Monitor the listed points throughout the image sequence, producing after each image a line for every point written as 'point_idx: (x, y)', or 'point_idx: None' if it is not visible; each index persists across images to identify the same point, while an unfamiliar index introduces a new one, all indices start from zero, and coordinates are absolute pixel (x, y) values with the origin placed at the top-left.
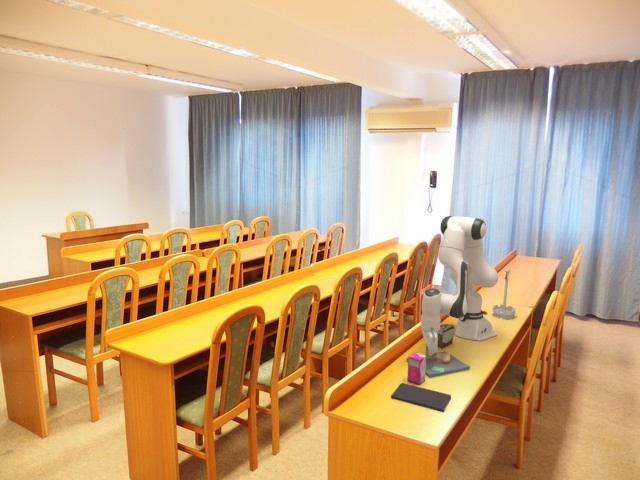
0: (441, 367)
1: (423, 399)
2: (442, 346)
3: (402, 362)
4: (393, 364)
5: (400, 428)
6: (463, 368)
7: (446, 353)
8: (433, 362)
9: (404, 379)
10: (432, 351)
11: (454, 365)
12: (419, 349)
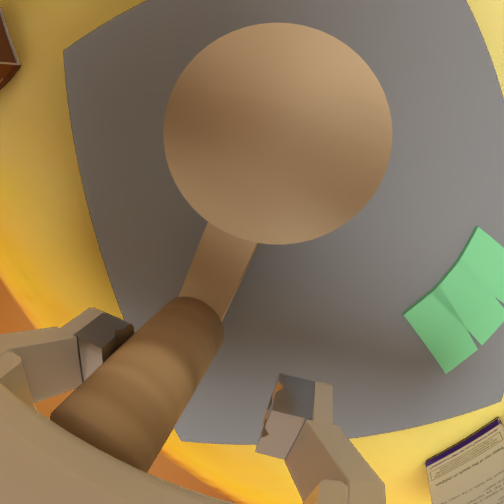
0: (444, 242)
1: None
2: (5, 64)
3: (208, 450)
4: (234, 489)
5: None
6: (465, 9)
7: (216, 54)
8: (300, 276)
9: (426, 493)
10: (346, 441)
11: (418, 57)
12: (14, 241)
